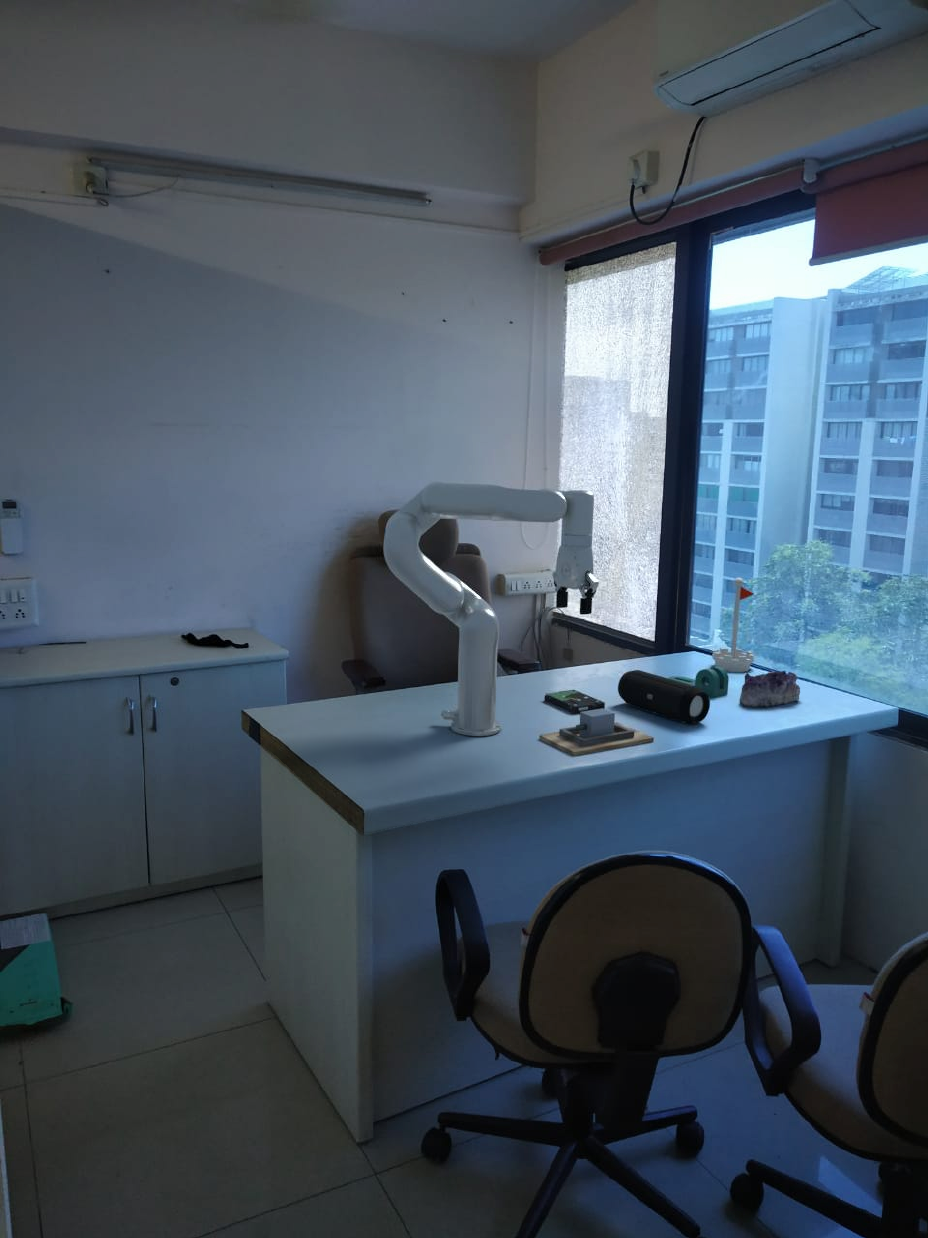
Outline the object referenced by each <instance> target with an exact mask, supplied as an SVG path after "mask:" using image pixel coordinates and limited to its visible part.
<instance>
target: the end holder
mask: <svg viewBox="0 0 928 1238" xmlns="http://www.w3.org/2000/svg"><path fill="white" fill-rule="evenodd" d="M654 739H655V738H654V737H653V736H652V735H649V734H646V733H643V732H641V731H640V730H636V729H635V728H632V727H629V726H627V725H624V724H622V723H621V722H617V721H614V733H613V734H608V735H602V736H596V737H590V738H583V737H581V736H579V731H577V730H576V726H571V727H565V728H559V731H556V732H550V733H542V734H539V740H540V741H542V742H545V743H547V744H548V745H551V746H553V747H555V748H557V749H559V750H561V751H562V752H565V753H567V754H569V755H572V756H573V757H575V756H576V757H577V756H581V755H582V756H583V755H587V754H588V755H589V754H593V753H597V752H598V753H599V752H603V751H608V750H609V751H610V750H615V749H620V748H625V747H626V748H627V747H631V746H635V745H637V746H638V745H642V744H647V743H648V744H649V743H653V742H654Z"/></svg>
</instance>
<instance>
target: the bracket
mask: <svg viewBox="0 0 928 1238" xmlns="http://www.w3.org/2000/svg"><path fill="white" fill-rule="evenodd" d="M667 678H668V679H672V680H675V681H679V682H682V683H686V684H689V685H693V686H696V687H699V688H700V689H702V690H703V691H704V692H705V693H706V694H707V695H708V697H709V698H713V699H716V698H720V697H722V696H726V695H728V692H729V673H728V671H726V670H725V669H724V668H722V667H719V666H716V667H715V666H712V667H709V668H705V669H704V668H703V669H700V670H699V671H698V672H697V673H696V675H695V678H690V677H687V676H686V677H685V676H678V675H677V676H676V675H674V676H669V677H667Z"/></svg>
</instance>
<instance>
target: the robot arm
mask: <svg viewBox="0 0 928 1238" xmlns="http://www.w3.org/2000/svg"><path fill="white" fill-rule="evenodd" d="M594 508H595V495H594V493H593V492H592V491H591V490H582V489H581V490H579V489H578V490H577V489H571V490H566V491H565V490H557V489H551V488H541V489H521V488H511V487H510V488H509V487H505V486H500V485H497V484H496V485H495V484H484V483H482V484H479V483H475V484H474V483H455V482H454V483H452V482H442V481H433V482H430V483H428V484H427V485H425V487H423V488H422V489H421V490H420V491H419V492H418V493H417V494H416V495H415V496H413V497H412V498H411V499H410V500H409V501H408V502H407V503H405V504H404V505H403V506H401V508H399V509H398V510H397V511H395V513H394V514H392V515H391V516H390V518H389V519H388V520H387V522H386V526H385V532H384V538H383V556H384V560H385V563H386V564H387V566H388V568H389V570H390V572H392V574H393V575H394V576H395V577H396V578H397V580H399V581H400V582H402V583H403V584H404V585H405V586H407V588H408V589H409V590H410V591H411V592H412V593H414V594H415V595H417V597H418V598H420V599H421V600H422V601H423V602H424V603H425V604H426V605H428V607H429V608H430V609H432V610H433V611H434V612H435V613H437V614H439V615H442V616H445V617H446V618H447V619H448V620H449V621H450V622H452V623H453V624H454V625H455V626H457V628H458V631H459V638H458V639H459V640H458V641H459V643H458V659H457V660H458V661H457V662H458V667H457V669H458V670H457V671H458V674H457V676H458V677H457V709H454V710H450V709H441V713H440V714H441V715H440V716H441V718H443V720H451V721H452V722H451V724H450V729H451V730H452V732H455V734H459V735H463V736H469V737H470V736H471V737H484V736H485V737H488V736H492V735H496V734H498V733H500V732H501V731H502V724H501V723H500V722H499V721H497V720H496V713H497V712H496V707H497V678H498V677H497V673H498V668H497V667H498V665H497V663H498V650H499V649H498V646H499V638H500V622H499V619H498V616H497V614H496V612H495V611H494V609H493V608H492V606H491V605H490V604H489V603H488V602H487V601H486V600H484V598H482V597H481V596H480V595H479V594H478V593H476V591H474V590H472V588H470V587H469V586H468V585H467V584H466V583H465V582H463V581H462V580H461V579H460V578H458V577H457V576H456V575H454V574H452V573H451V572H448V571H443V570H442V569H441V568H439V566H437V565H436V564H435V563H434V562H433V561H432V560H431V559H430V558H429V557H428V556H426V555H425V554H424V553H423V552H422V551H421V549H420V546H419V543H420V539H421V536H423V535H424V534H425V533H426V532H427V531H428V530H429V529H430V528H432V527H433V526H434V525H435V524H436V523H437V522H438V521H440V519H446V520H474V521H492V522H504V521H505V522H509V521H510V522H527V523H554V522H557V521H559V520H561V530H560V531H561V533H560V545H559V547H558V550H557V551H558V552H557V556H556V563H555V571H553V572H552V573H551V574H552V579H553V585H554V587H555V589H554V590H555V592H556V597H555V599H556V600H555V608H557V609H564V608H568V607H569V606H568V605H569V591H567V590H568V589H571V590H576V591H577V590H579V593H580V596H581V597H580V599H579V614H580V615H582V616H583V615H591V614H592V613H593V611H592V609H593V608H592V607H593V598H594V597H595V594H596V593H597V589H598V586H599V584H600V581H599V580H598V579H597V578H596V577H595V576H594V555H593V529H594V527H593V526H594V513H595V512H594Z"/></svg>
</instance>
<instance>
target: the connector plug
mask: <svg viewBox="0 0 928 1238" xmlns="http://www.w3.org/2000/svg"><path fill="white" fill-rule="evenodd" d="M615 714H616V713H615V712H613V711H611V710H608V709H606V708H605V709H603V708H602V709H596V710H590V711H583V712H580V714H579V723H578V724H576V725H575V727H576V730H577V731H579V736H581V737H583V738H590V737H596V736H602V735H608V734H613V733H614V723H615V722H616V721H615V719H616V718H615V717H616V716H615Z"/></svg>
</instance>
